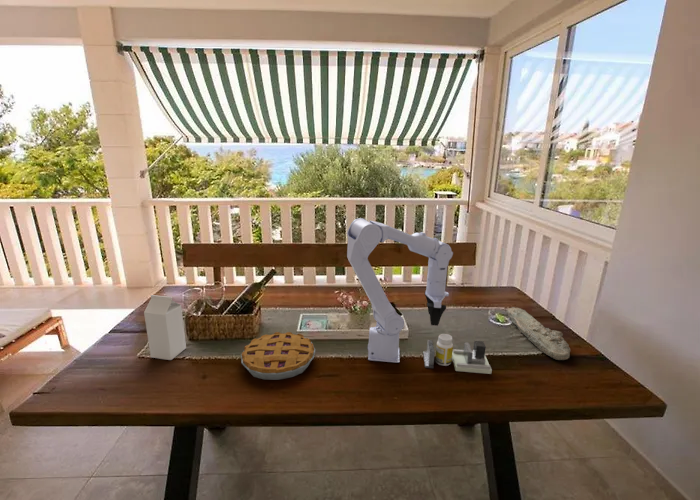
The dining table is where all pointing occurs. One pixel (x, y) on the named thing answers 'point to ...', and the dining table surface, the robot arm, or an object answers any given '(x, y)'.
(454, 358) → the bed
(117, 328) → the dining table surface
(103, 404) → the dining table surface
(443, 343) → the supplement bottle
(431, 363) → the jaw
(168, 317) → the milk carton
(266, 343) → the pie
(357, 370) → the dining table surface
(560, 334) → the long grey stone
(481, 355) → the grey boxy piece
